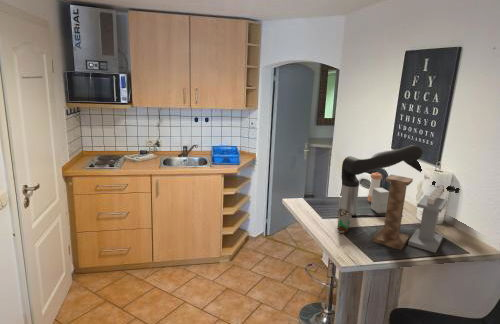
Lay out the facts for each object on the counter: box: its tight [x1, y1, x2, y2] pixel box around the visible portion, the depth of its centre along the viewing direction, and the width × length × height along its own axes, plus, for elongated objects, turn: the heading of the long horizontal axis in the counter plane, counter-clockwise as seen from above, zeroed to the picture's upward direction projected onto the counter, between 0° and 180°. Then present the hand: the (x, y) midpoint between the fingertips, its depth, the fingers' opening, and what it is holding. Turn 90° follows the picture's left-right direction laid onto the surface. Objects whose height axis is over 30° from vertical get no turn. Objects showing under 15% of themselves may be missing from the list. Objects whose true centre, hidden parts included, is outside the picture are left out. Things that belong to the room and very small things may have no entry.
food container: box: [337, 207, 353, 235], centre depth 179 cm, size 12×6×10 cm, turn 168°
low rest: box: [407, 194, 448, 254], centre depth 168 cm, size 12×18×21 cm, turn 142°
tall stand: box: [371, 174, 414, 251], centre depth 167 cm, size 14×14×32 cm
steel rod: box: [427, 186, 444, 206], centre depth 169 cm, size 3×24×3 cm, turn 142°
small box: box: [370, 187, 389, 214], centre depth 206 cm, size 8×6×13 cm
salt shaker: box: [367, 171, 383, 203], centre depth 221 cm, size 7×7×19 cm
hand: (442, 185), depth 181 cm, fingers open, 8 cm apart
